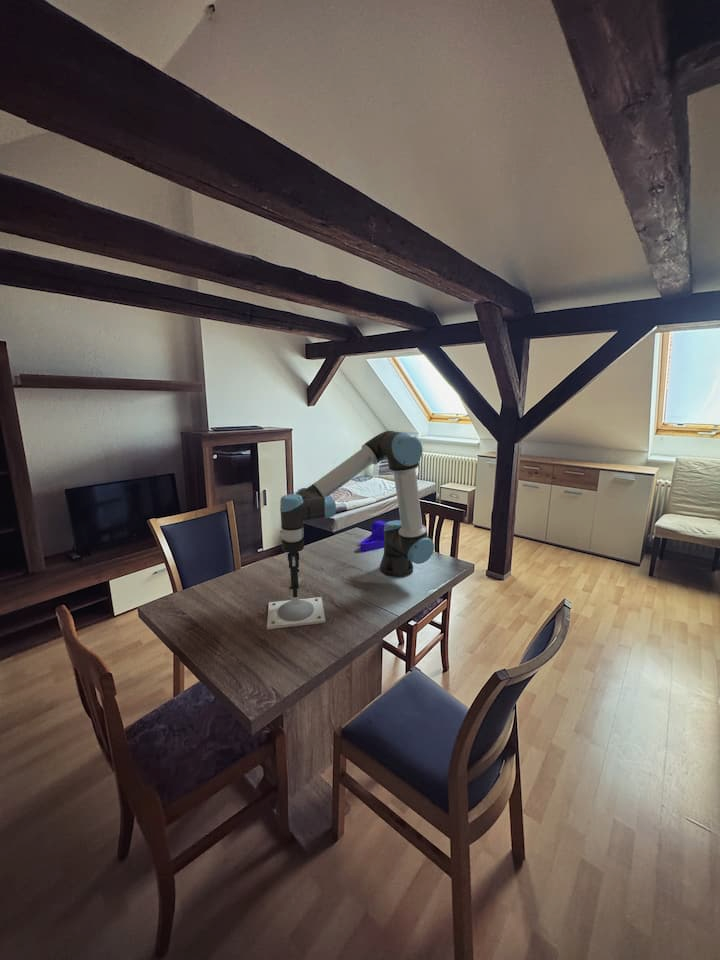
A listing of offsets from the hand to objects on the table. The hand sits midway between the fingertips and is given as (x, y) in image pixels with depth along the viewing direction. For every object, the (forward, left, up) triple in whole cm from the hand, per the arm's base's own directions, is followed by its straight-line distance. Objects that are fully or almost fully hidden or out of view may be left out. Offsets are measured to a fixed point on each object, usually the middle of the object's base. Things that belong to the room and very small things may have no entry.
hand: (295, 596), depth 138 cm
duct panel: (0, 0, -7) cm, 7 cm away
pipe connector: (0, 0, -1) cm, 1 cm away
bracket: (-42, -56, -7) cm, 70 cm away
